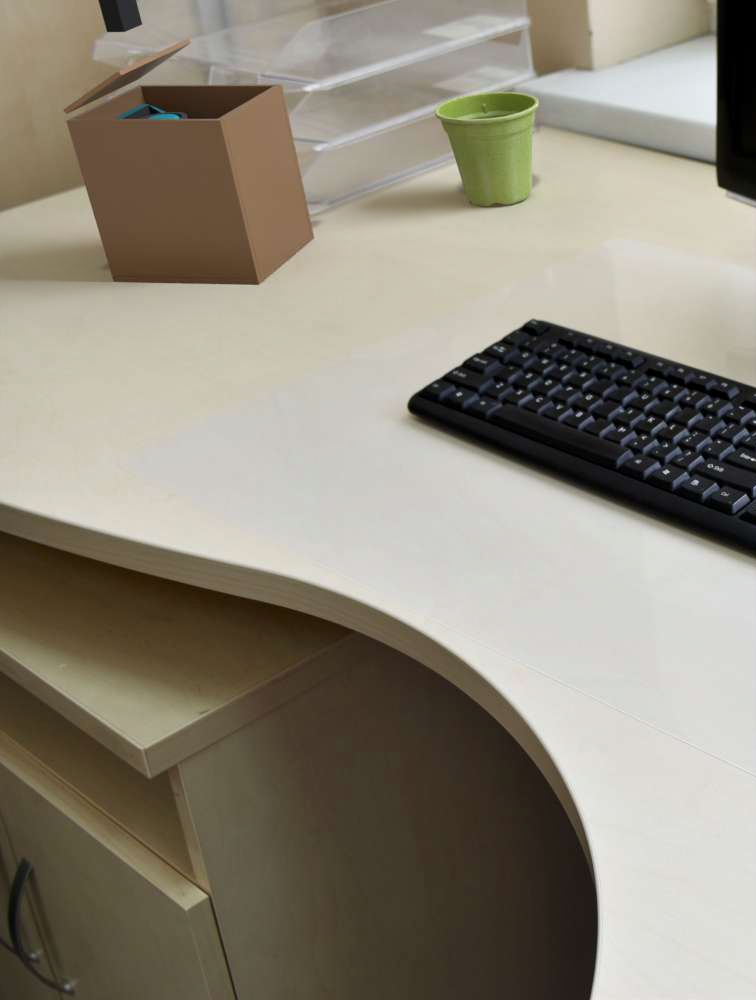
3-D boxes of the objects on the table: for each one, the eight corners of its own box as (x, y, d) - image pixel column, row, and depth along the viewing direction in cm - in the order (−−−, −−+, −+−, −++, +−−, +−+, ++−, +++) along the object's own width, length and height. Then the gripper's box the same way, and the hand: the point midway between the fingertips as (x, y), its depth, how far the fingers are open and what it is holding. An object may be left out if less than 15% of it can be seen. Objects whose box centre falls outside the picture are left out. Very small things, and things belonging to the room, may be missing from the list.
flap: (66, 114, 108) (62, 109, 107) (138, 79, 117) (135, 75, 117) (121, 75, 105) (118, 70, 105) (191, 42, 114) (188, 38, 114)
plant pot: (496, 220, 124) (482, 124, 120) (428, 202, 129) (413, 109, 125) (569, 192, 130) (559, 100, 126) (502, 175, 136) (490, 86, 131)
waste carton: (113, 282, 115) (65, 120, 108) (178, 236, 124) (138, 84, 117) (259, 284, 113) (220, 120, 106) (314, 237, 122) (282, 84, 115)
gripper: (-86, -313, 95) (22, 40, 107) (88, -322, 93) (177, 38, 105) (-19, -314, 101) (76, 19, 113) (145, -323, 99) (223, 17, 111)
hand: (124, 28), depth 109 cm, fingers closed
